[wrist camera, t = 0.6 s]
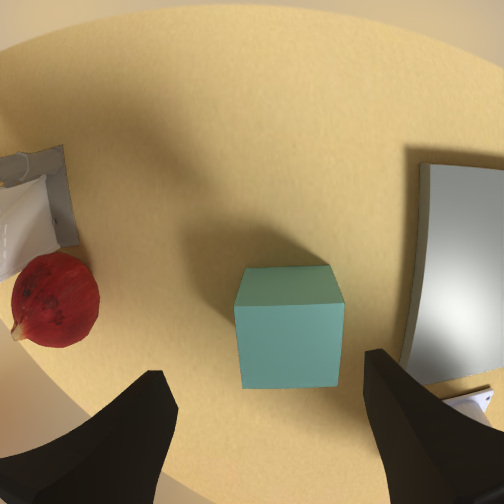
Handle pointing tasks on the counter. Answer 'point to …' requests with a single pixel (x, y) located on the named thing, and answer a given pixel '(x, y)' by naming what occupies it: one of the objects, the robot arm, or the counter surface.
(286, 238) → the counter surface
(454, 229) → the cutting board
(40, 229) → the skyscraper
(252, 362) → the cube
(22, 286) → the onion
